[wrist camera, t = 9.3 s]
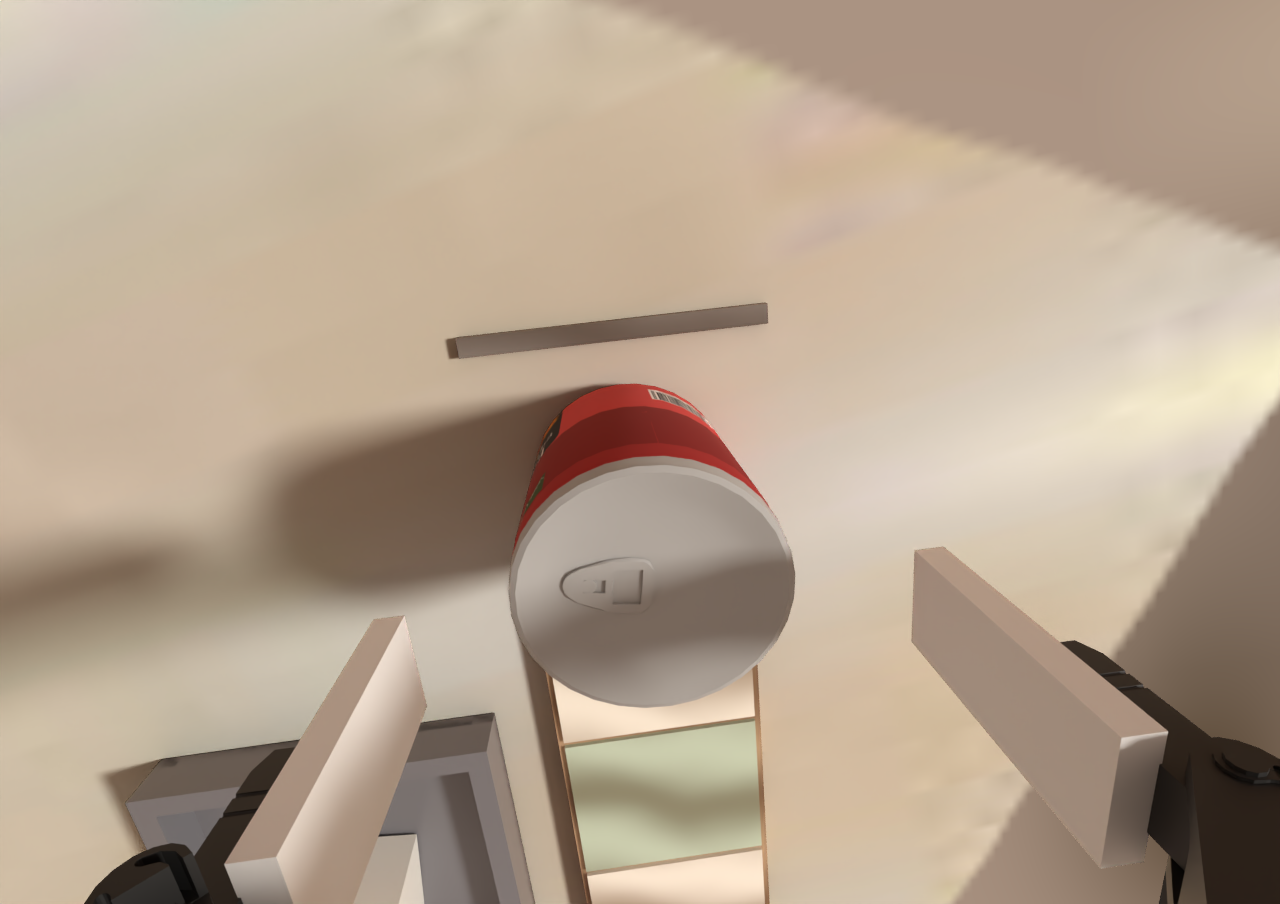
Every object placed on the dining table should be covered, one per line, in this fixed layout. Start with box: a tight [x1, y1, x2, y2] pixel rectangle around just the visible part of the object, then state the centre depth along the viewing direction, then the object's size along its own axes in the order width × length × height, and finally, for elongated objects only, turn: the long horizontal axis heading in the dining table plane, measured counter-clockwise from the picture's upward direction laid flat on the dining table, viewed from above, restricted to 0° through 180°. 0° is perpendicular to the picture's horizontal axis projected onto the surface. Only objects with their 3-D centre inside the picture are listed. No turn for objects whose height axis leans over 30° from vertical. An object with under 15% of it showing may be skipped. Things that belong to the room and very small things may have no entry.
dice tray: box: [125, 713, 535, 904], centre depth 32 cm, size 16×16×2 cm
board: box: [455, 303, 769, 904], centre depth 31 cm, size 37×13×1 cm, turn 6°
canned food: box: [509, 384, 795, 708], centre depth 22 cm, size 8×8×11 cm
